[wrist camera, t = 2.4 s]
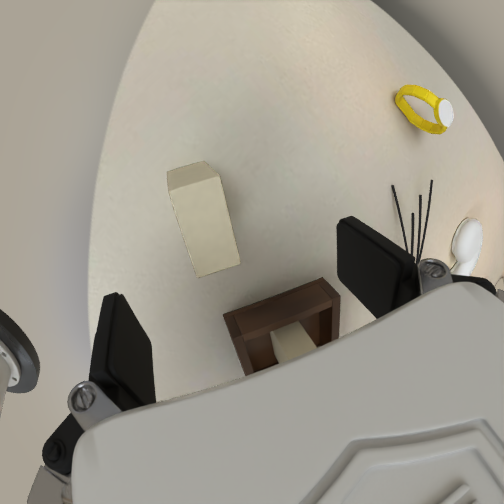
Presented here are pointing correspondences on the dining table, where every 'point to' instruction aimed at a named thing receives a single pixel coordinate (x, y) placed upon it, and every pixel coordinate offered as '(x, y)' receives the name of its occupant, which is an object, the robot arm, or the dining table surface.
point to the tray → (283, 322)
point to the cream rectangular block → (203, 218)
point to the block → (291, 342)
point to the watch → (440, 105)
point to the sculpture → (467, 246)
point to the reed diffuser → (413, 224)
